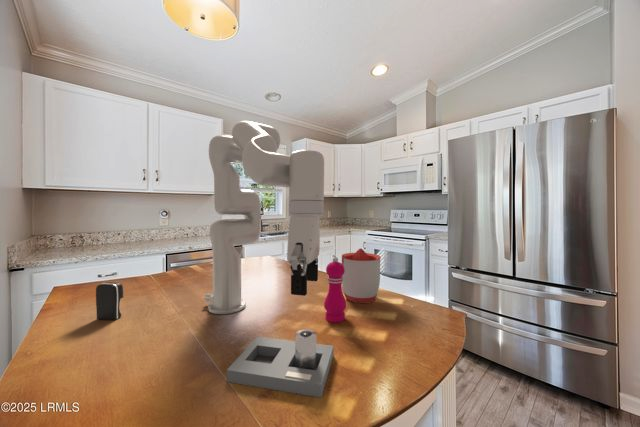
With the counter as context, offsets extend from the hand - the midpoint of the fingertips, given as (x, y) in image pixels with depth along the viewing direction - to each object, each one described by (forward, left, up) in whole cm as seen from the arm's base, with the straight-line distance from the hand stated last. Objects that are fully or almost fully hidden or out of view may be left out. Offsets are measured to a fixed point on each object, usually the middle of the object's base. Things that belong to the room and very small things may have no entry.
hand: (305, 287), depth 56 cm
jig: (-5, 0, -19) cm, 19 cm away
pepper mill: (+2, +28, -19) cm, 34 cm away
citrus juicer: (+8, +48, -19) cm, 52 cm away
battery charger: (-69, +12, -19) cm, 72 cm away
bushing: (0, 0, -18) cm, 18 cm away
